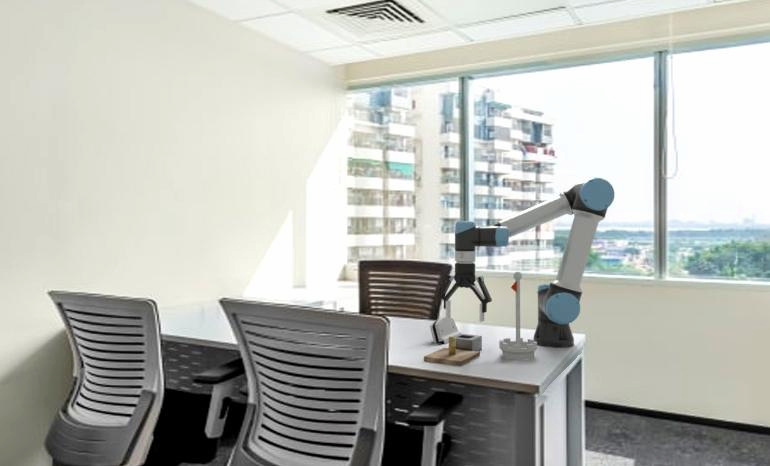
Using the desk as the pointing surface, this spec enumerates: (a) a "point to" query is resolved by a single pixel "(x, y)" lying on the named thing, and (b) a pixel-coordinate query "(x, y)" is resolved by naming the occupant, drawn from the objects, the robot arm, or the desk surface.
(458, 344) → the grey hollow square block
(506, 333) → the desk surface
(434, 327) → the hinge
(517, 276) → the flag stand
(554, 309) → the robot arm
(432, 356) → the wooden peg stand
